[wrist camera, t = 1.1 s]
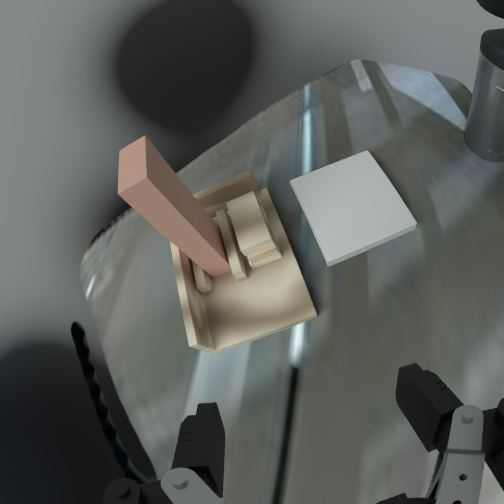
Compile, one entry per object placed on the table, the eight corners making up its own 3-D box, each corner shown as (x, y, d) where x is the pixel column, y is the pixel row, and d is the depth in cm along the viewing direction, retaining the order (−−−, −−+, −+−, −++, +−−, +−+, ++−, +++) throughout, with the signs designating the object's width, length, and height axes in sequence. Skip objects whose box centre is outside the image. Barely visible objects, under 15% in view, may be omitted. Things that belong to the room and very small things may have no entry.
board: (204, 241, 44) (119, 150, 27) (223, 233, 43) (145, 135, 26) (213, 277, 41) (117, 193, 24) (233, 269, 40) (146, 177, 23)
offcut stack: (237, 220, 44) (225, 202, 40) (263, 208, 43) (254, 190, 39) (253, 269, 40) (241, 254, 36) (282, 257, 39) (273, 241, 35)
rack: (186, 229, 48) (165, 208, 42) (268, 193, 46) (256, 166, 40) (213, 353, 38) (189, 346, 32) (317, 316, 36) (311, 302, 30)
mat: (291, 186, 45) (289, 180, 44) (367, 156, 43) (367, 150, 42) (328, 266, 38) (327, 262, 37) (415, 228, 36) (417, 223, 35)
